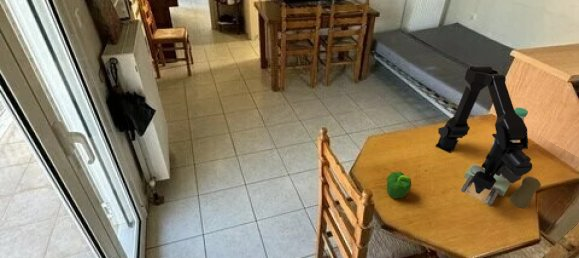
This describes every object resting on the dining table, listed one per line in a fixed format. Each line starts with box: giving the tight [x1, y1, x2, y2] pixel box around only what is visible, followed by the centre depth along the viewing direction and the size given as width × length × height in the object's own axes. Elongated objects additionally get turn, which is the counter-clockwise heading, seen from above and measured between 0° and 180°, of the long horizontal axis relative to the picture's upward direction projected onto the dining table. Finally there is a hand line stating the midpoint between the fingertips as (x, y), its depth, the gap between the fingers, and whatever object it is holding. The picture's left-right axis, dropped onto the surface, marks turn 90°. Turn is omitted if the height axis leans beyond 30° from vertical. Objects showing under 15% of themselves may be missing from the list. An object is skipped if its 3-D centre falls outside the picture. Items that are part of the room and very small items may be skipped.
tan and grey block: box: [468, 183, 495, 200], centre depth 115 cm, size 6×4×6 cm
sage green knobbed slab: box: [463, 163, 512, 197], centre depth 120 cm, size 14×7×4 cm, turn 46°
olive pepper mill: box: [509, 176, 542, 209], centre depth 110 cm, size 6×6×11 cm
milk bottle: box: [491, 106, 529, 147], centre depth 131 cm, size 8×8×20 cm
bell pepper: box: [386, 171, 412, 199], centre depth 114 cm, size 8×8×10 cm
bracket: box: [460, 175, 500, 207], centre depth 116 cm, size 10×8×2 cm
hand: (482, 186), depth 115 cm, fingers open, 9 cm apart
